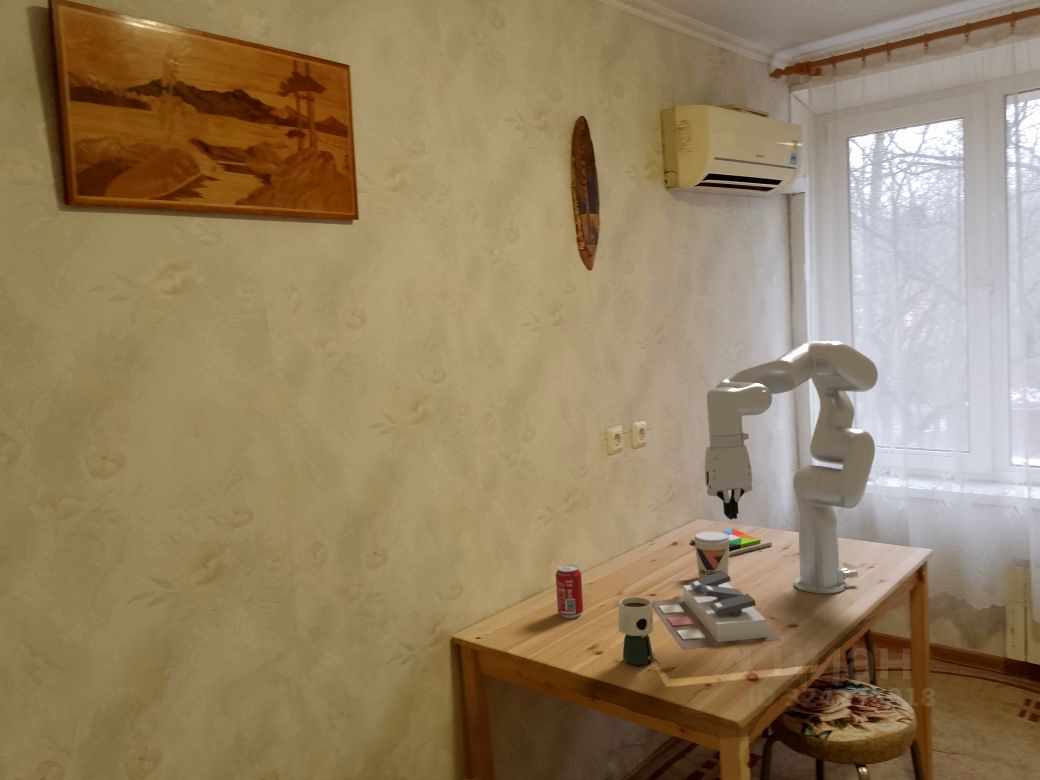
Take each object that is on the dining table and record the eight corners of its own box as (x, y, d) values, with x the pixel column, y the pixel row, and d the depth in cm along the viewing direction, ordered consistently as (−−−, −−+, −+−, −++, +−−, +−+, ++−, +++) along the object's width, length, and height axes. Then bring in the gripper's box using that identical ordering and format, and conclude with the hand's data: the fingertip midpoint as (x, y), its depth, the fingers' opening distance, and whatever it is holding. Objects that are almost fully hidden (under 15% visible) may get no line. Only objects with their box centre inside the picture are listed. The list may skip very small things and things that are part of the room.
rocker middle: (736, 600, 195) (737, 588, 195) (742, 606, 191) (744, 594, 190) (699, 595, 194) (701, 584, 194) (705, 602, 190) (707, 590, 190)
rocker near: (750, 604, 187) (747, 593, 187) (757, 611, 183) (754, 599, 182) (712, 614, 186) (709, 603, 186) (718, 621, 182) (716, 609, 182)
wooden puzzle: (730, 559, 242) (730, 547, 242) (688, 545, 259) (688, 534, 258) (774, 547, 250) (773, 536, 250) (730, 534, 267) (730, 524, 266)
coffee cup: (693, 582, 222) (691, 539, 221) (699, 572, 230) (697, 530, 229) (728, 585, 218) (726, 541, 217) (733, 574, 227) (731, 531, 226)
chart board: (733, 598, 208) (733, 592, 208) (781, 645, 179) (781, 638, 179) (648, 606, 207) (648, 600, 207) (682, 654, 177) (682, 647, 177)
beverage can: (586, 610, 206) (583, 564, 205) (579, 620, 200) (577, 572, 199) (562, 609, 208) (559, 563, 207) (554, 618, 202) (552, 571, 201)
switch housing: (726, 597, 206) (726, 581, 206) (766, 637, 180) (766, 619, 180) (683, 601, 205) (683, 585, 205) (717, 641, 179) (717, 624, 179)
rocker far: (726, 580, 203) (723, 570, 203) (732, 586, 198) (729, 576, 198) (692, 592, 202) (689, 581, 202) (697, 598, 198) (694, 587, 198)
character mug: (635, 674, 169) (632, 613, 168) (608, 665, 174) (605, 605, 173) (667, 657, 176) (664, 598, 175) (640, 648, 181) (637, 591, 180)
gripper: (750, 434, 195) (755, 509, 197) (690, 441, 194) (695, 517, 196) (763, 439, 188) (768, 517, 190) (700, 447, 186) (706, 525, 188)
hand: (731, 517), depth 193 cm, fingers closed
